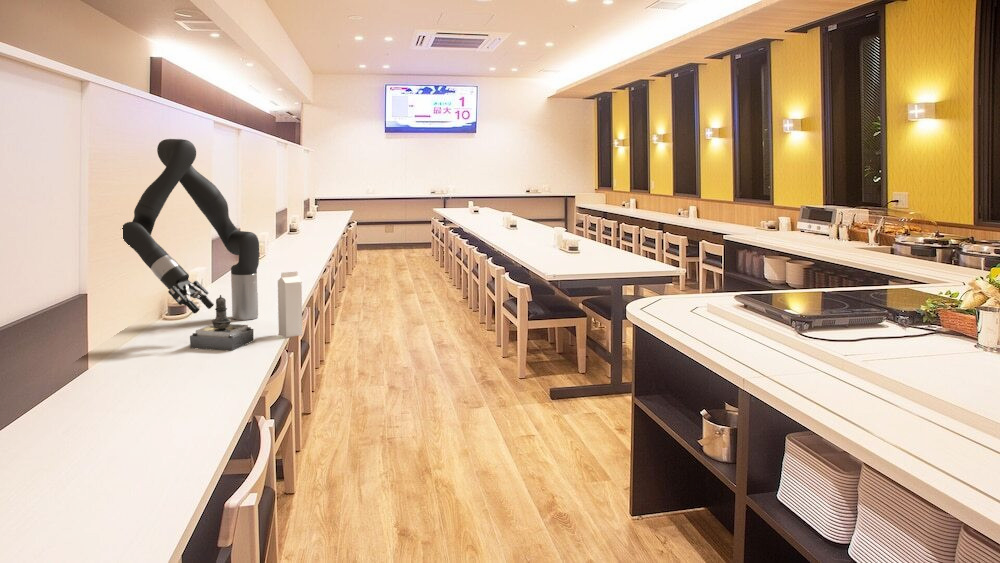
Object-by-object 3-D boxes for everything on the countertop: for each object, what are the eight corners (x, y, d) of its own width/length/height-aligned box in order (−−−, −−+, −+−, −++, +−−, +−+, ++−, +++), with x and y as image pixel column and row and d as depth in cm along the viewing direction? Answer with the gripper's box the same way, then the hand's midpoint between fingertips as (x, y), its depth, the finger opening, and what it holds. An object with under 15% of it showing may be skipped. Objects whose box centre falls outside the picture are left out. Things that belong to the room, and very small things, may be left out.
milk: (302, 335, 238) (302, 272, 234) (286, 337, 233) (285, 273, 230) (294, 332, 242) (293, 270, 239) (278, 334, 238) (277, 271, 235)
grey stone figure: (215, 329, 224) (214, 293, 222) (233, 329, 224) (232, 293, 222) (209, 333, 218) (208, 296, 216) (228, 333, 218) (227, 296, 217)
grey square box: (214, 338, 229) (213, 322, 229) (253, 340, 228) (253, 324, 227) (190, 348, 216) (189, 331, 215) (232, 350, 214) (231, 333, 213)
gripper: (164, 267, 213) (200, 305, 213) (189, 262, 227) (223, 298, 227) (148, 283, 214) (184, 321, 214) (175, 277, 228) (208, 312, 228)
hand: (204, 309), depth 221 cm, fingers open, 8 cm apart
